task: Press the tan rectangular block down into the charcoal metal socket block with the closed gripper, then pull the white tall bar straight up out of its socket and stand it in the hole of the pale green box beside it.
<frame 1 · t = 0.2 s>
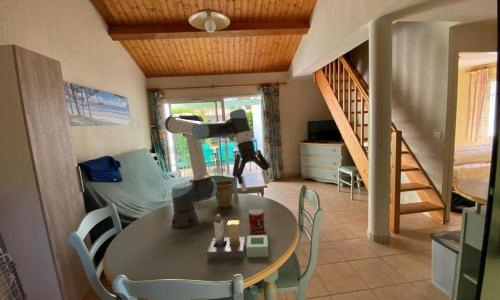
hand: (256, 187, 107), 27 cm above the table, tool tilted 15°, fingers open, 13 cm apart
white tall bar: (220, 251, 105), resting in socket block
tan rectangular block: (234, 233, 104), point 8 cm above the table, slide at 0.0 cm
pale green box: (257, 250, 104), on the table
plant pot: (224, 205, 163), on the table
socket block: (227, 251, 105), on the table
canned food: (257, 231, 122), on the table
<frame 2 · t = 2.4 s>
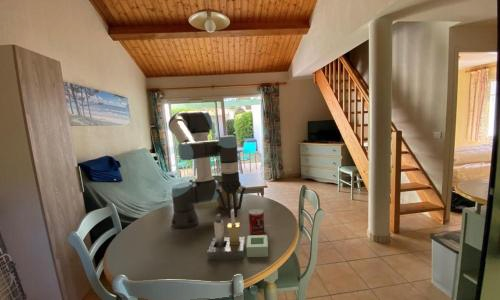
hand: (233, 224, 103), 12 cm above the table, tool pointing down, fingers closed
tan rectangular block: (234, 235, 104), point 7 cm above the table, slide at 1.2 cm, touching gripper
everything else where it was.
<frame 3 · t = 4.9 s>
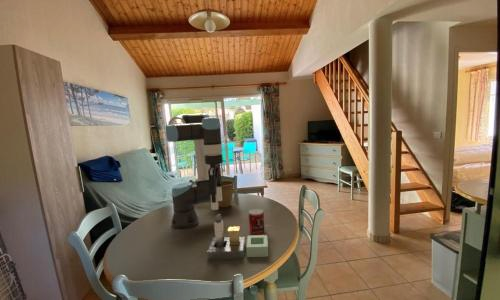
hand: (217, 204, 103), 22 cm above the table, tool pointing down, fingers open, 10 cm apart
tan rectangular block: (234, 239, 104), point 5 cm above the table, slide at 2.9 cm
everything else where it was.
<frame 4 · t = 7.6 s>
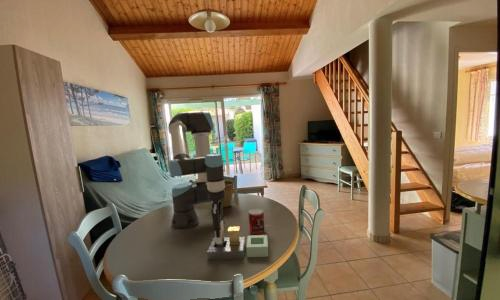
hand: (220, 240, 105), 5 cm above the table, tool pointing down, fingers closed on white tall bar, 4 cm apart
white tall bar: (220, 251, 105), resting in socket block, touching gripper
everything else where it was.
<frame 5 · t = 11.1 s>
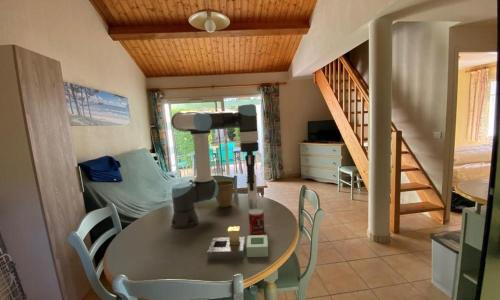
hand: (252, 195, 101), 25 cm above the table, tool pointing down, fingers closed on white tall bar, 4 cm apart
white tall bar: (253, 207, 102), point 20 cm above the table, touching gripper
everything else where it was.
when the fingers open (7 cm above the table, at t = 14.8 s): white tall bar drops 2 cm, resting in pale green box.
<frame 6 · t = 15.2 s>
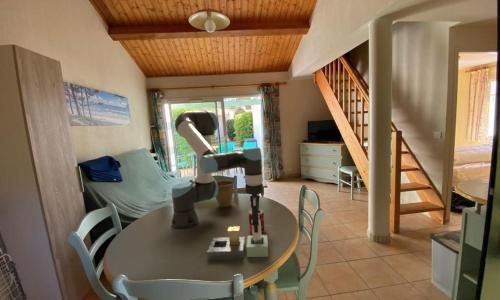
hand: (256, 232, 103), 8 cm above the table, tool pointing down, fingers open, 10 cm apart
white tall bar: (257, 250, 104), resting in pale green box
everything else where it was.
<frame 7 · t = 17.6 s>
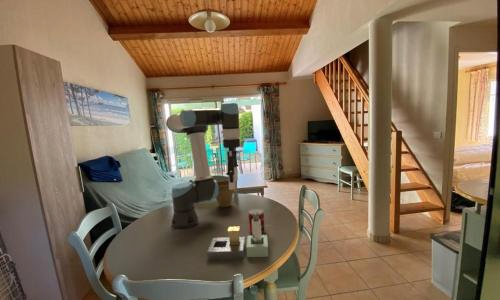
hand: (233, 184, 108), 29 cm above the table, tool pointing down, fingers open, 13 cm apart
nothing on the table moved.
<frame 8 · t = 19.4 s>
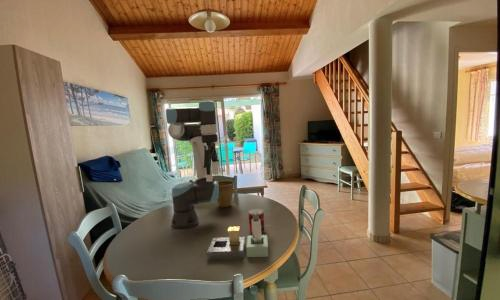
hand: (212, 177, 115), 31 cm above the table, tool pointing down, fingers open, 13 cm apart
nothing on the table moved.
at the end: tan rectangular block slide at 2.9 cm; white tall bar 0.0 cm off-centre on the pale green box, point 0.0 cm above the pale green box's base; white tall bar tilted 0° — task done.
